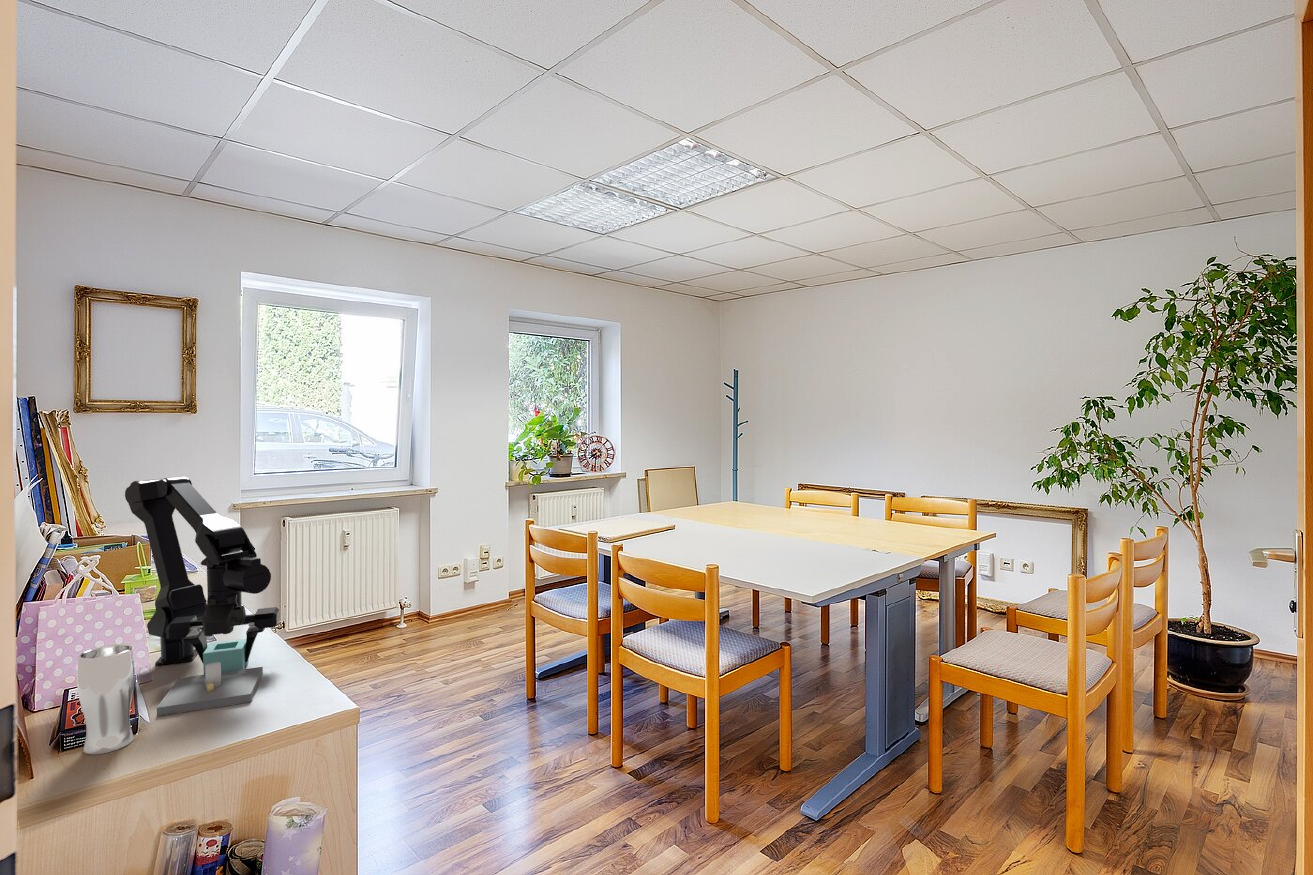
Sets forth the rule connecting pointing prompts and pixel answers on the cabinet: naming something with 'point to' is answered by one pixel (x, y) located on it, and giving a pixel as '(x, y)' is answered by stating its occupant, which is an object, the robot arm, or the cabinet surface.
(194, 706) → the base
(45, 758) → the cabinet surface
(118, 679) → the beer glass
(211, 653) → the collar
